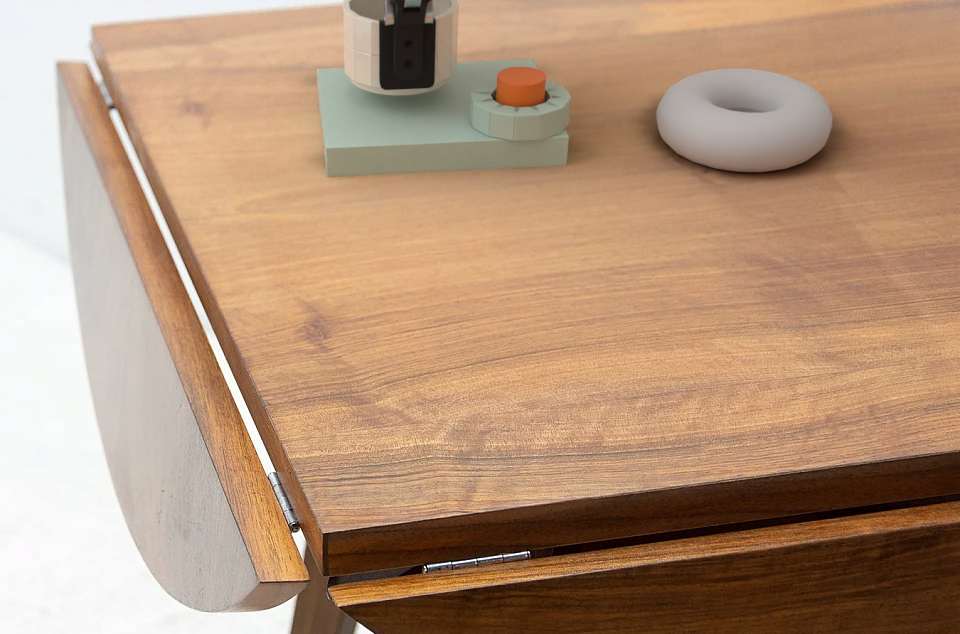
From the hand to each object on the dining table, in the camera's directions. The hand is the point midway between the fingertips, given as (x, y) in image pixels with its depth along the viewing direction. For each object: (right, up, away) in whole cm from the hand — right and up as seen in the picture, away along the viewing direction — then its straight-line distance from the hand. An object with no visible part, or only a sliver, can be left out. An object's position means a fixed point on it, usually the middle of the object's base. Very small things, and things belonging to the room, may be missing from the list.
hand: (400, 60), depth 84 cm
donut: (+20, -6, -2) cm, 21 cm away
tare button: (+7, -3, -3) cm, 8 cm away
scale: (+2, -4, +1) cm, 5 cm away
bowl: (0, -1, +1) cm, 1 cm away
